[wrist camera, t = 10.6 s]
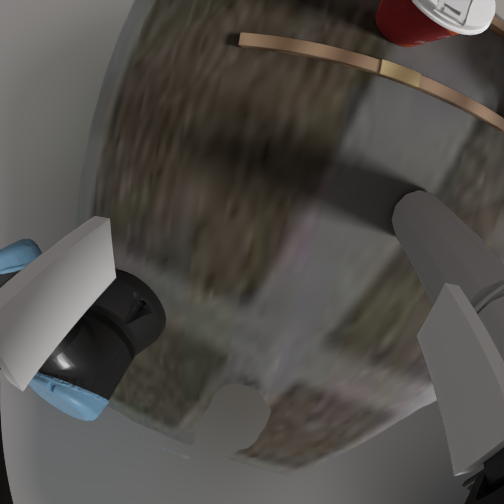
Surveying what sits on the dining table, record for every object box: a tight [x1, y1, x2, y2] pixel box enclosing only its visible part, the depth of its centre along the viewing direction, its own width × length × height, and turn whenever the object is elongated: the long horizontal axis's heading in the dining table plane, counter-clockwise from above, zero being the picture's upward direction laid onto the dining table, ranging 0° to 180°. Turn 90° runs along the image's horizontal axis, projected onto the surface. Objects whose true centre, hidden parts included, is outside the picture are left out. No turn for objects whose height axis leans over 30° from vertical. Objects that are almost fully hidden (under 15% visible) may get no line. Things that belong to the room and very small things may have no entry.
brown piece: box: [239, 16, 504, 133], centre depth 20 cm, size 36×15×2 cm, turn 81°
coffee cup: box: [376, 0, 496, 47], centre depth 15 cm, size 8×8×15 cm
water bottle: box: [392, 190, 504, 361], centre depth 21 cm, size 9×8×25 cm
